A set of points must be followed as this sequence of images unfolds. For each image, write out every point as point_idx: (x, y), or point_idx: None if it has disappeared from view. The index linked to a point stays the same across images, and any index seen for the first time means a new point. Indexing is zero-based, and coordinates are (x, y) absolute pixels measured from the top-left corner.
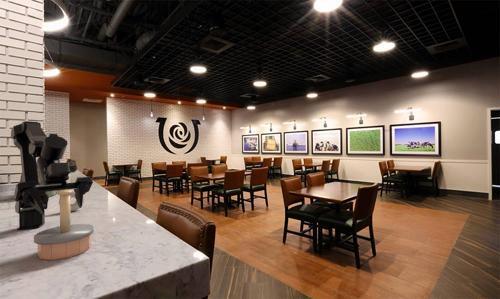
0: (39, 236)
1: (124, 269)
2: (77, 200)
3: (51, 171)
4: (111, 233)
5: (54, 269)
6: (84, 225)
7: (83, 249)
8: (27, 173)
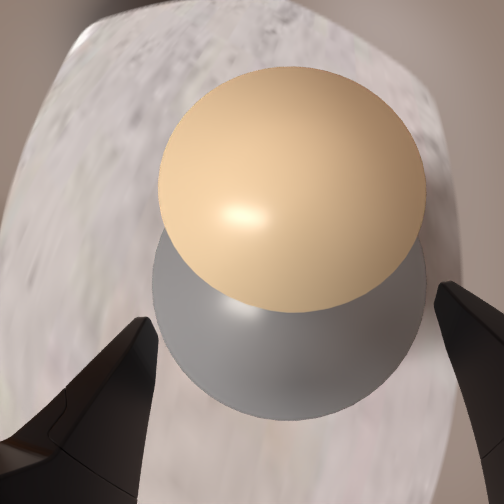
0: (405, 276)
1: (203, 37)
2: (134, 432)
3: None
4: None
5: None
6: (181, 325)
7: None
8: None
